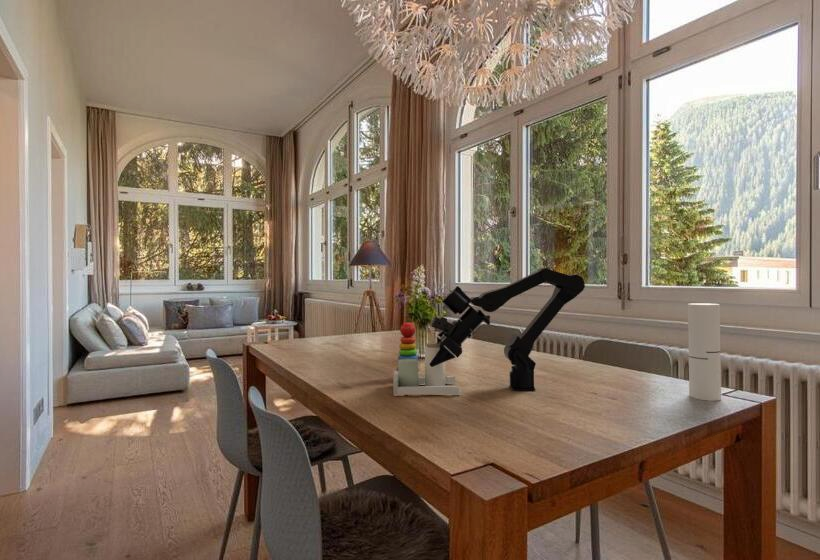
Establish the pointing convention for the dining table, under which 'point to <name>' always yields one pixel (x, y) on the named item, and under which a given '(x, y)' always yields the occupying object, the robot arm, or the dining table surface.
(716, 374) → the cylindrical container
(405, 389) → the white u-shaped frame
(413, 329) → the stacking toy
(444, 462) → the dining table surface
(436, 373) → the cream jar
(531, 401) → the dining table surface
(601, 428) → the dining table surface
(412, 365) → the grey-green cylinder
